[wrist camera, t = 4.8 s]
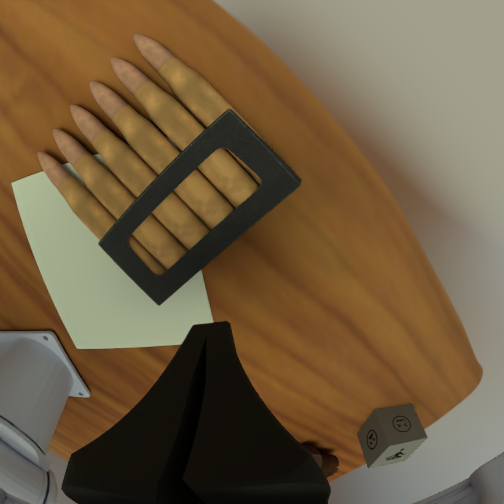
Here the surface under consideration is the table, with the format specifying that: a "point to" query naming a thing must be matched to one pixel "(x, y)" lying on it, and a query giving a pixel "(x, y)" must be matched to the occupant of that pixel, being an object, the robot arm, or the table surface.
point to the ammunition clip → (167, 174)
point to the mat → (99, 277)
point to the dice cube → (391, 435)
